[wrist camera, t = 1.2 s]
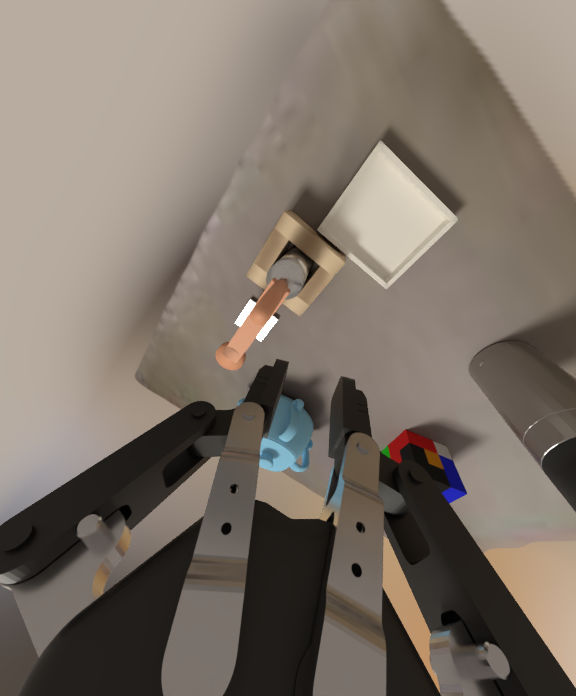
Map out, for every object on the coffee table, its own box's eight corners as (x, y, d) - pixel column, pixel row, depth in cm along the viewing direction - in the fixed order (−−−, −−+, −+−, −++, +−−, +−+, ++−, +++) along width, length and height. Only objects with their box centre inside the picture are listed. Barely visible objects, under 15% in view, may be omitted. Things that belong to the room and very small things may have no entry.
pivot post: (278, 318, 42) (261, 350, 32) (262, 339, 45) (241, 374, 36) (251, 297, 41) (225, 325, 31) (236, 321, 44) (208, 352, 35)
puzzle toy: (446, 446, 51) (467, 493, 42) (417, 467, 56) (430, 513, 48) (405, 429, 50) (418, 473, 42) (379, 452, 56) (386, 495, 48)
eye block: (344, 255, 34) (345, 263, 30) (304, 304, 40) (299, 316, 35) (291, 210, 33) (284, 211, 28) (256, 267, 38) (246, 275, 34)
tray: (450, 218, 30) (458, 219, 28) (383, 284, 35) (386, 289, 33) (377, 144, 27) (380, 140, 25) (318, 228, 33) (316, 230, 31)
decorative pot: (314, 387, 49) (306, 442, 38) (315, 437, 57) (308, 494, 46) (242, 382, 52) (215, 431, 41) (253, 430, 61) (233, 481, 49)
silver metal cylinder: (318, 259, 35) (310, 278, 26) (301, 281, 38) (288, 306, 28) (295, 240, 34) (279, 253, 25) (279, 264, 37) (259, 284, 28)
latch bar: (300, 289, 26) (284, 324, 18) (237, 369, 34) (208, 417, 27) (272, 266, 25) (243, 293, 18) (215, 354, 34) (178, 398, 26)
